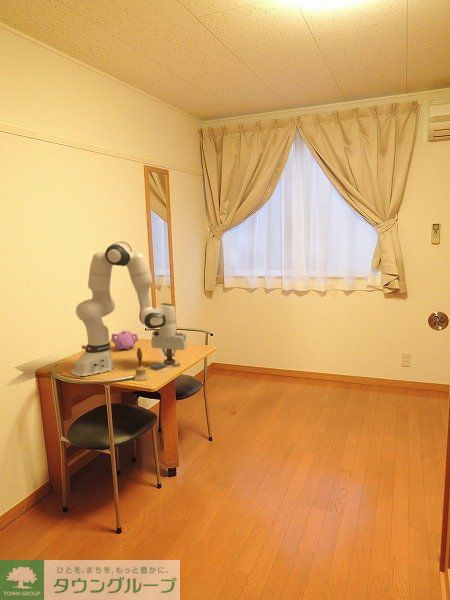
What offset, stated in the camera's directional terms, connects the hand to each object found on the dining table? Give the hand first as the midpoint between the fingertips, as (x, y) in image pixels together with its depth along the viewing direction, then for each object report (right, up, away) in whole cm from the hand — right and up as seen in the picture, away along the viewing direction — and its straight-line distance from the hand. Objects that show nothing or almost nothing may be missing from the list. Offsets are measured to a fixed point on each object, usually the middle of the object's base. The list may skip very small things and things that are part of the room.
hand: (169, 356), depth 228 cm
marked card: (0, -5, +1) cm, 5 cm away
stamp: (0, -4, 0) cm, 4 cm away
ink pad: (-6, -6, -5) cm, 10 cm away
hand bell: (-12, -9, -21) cm, 25 cm away
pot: (-33, 0, +34) cm, 48 cm away
